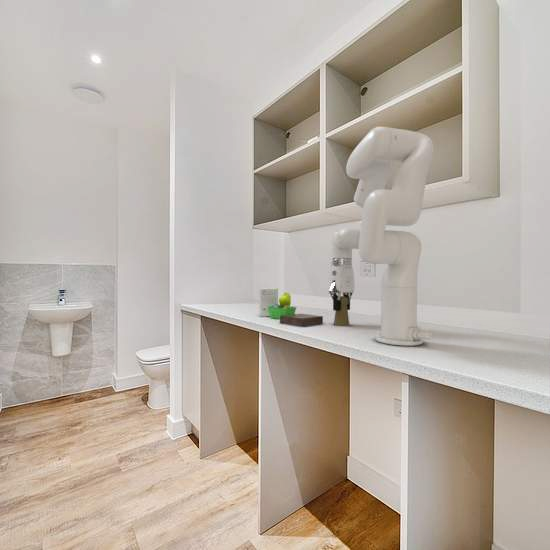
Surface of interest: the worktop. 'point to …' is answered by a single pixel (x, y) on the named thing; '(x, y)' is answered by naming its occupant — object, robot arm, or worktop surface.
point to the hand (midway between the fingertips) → (341, 309)
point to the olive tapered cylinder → (342, 313)
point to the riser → (301, 319)
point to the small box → (267, 300)
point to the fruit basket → (282, 307)
